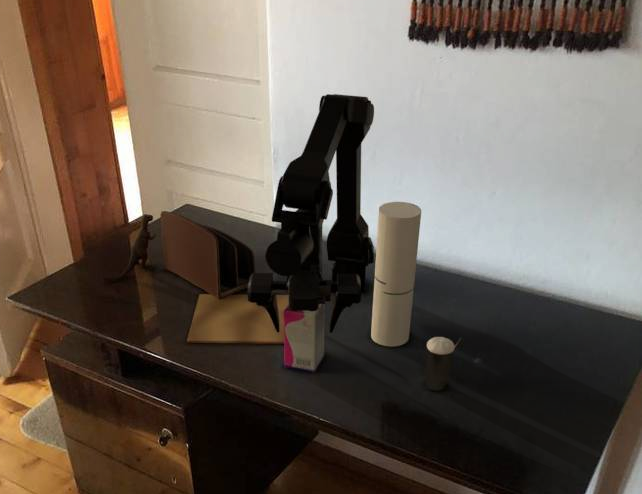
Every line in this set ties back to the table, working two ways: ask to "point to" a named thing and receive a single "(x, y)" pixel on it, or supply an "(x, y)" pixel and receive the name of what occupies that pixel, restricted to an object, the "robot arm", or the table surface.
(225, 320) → the desk mat
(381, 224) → the cylindrical container
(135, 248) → the dinosaur model
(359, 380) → the table surface
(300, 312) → the supplement box
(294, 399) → the table surface
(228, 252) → the letter holder
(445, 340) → the milkshake
